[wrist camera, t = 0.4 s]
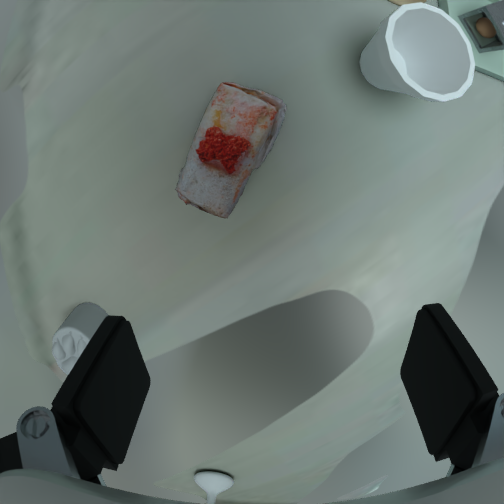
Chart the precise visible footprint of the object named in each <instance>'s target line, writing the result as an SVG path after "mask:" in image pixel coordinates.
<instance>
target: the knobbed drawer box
mask: <svg viewBox="0 0 504 504" xmlns="http://www.w3.org/2000/svg"><path fill="white" fill-rule="evenodd" d="M478 13H482V15H483V16H484V18H488V19H490V21H491V23H492V24H493V26H494V28H495V30H496V35H495V38H496V39H497V40H495V41H493V42H491V43H489V44H487V45H485V46H483V47H481V45H480V43H479V42H478V40H477V38H476V36H475V34H474V33H473V31H472V29H471V28H470V26H469V24H468V23H467V21H466V19H465V18H466V17H469V16H472V15H475V14H478ZM458 18H459V20H460V21H461V23H462V24H463V26H464V28H465V29H466V31H467V33H468V34H469V36H470V38H471V40H472V41H473V43H474V45H475V47H476V49H477V51H478V52H479V53H484V52H491V51H498V50H504V0H501V1H497V2H494V3H491V4H488V5H485V6H482V7H479V8H477V9H474V10H472V11H469V12H466V13H464V14H462V15H459V16H458Z"/></svg>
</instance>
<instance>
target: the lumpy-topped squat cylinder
mask: <svg viewBox="0 0 504 504" xmlns="http://www.w3.org/2000/svg"><path fill="white" fill-rule="evenodd" d="M106 316H109V315H108V314H107V313H106V312H105V311H104V310H103V309H102V308H101V307H100V306H98V305H96V304H94V303H90V302H86V303H82V304H79V305H78V306H77V307H76V308H75V309H74V310H73V311H72V312H71V314H70V315H69V316H68V317H67V319H66V320H65V321H64V322H63V324H62V325H61V326H60V328H59V329H58V330H57V331H56V333H55V334H54V336H53V347H52V354H53V356H54V357H55V359H56V362H57V364H58V366H59V367H60V368H61V370H63V371H64V372H65V373H66V374H67V375H69V373H70V371H71V370H72V368H73V366H74V365H75V363H76V362H77V360H78V358H79V357H80V355H81V354H82V352H83V350H84V349H85V347H86V346H87V344H88V343H89V341H90V340H91V338H92V336H93V335H94V333H95V332H96V330H97V329H98V327H99V326H100V324H101V323H102V321H103V320H104V318H105V317H106Z"/></svg>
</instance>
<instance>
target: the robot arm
mask: <svg viewBox="0 0 504 504" xmlns="http://www.w3.org/2000/svg"><path fill="white" fill-rule="evenodd" d="M400 374H401V379H402V381H403V384H404V386H405V389H406V391H407V394H408V396H409V399H410V402H411V404H412V407H413V409H414V412H415V415H416V417H417V420H418V423H419V426H420V429H421V431H422V434H423V437H424V440H425V443H426V446H427V449H428V452H429V453H430V454H431V455H434V457H435V461H440V460H443V459H446V458H450V460H451V466H450V469H449V471H448V473H447V475H446V477H445V478H442V479H439V480H435V481H432V482H429V483H425V484H421V485H418V486H414V487H411V488H407V489H403V490H399V491H395V492H390V493H386V494H382V495H377V496H371V497H366V498H360V499H354V500H347V501H341V502H332V503H323V504H504V393H503V394H501V395H500V396H499V395H498V393H497V391H498V388H497V386H496V385H495V383H494V381H493V380H492V378H491V377H490V375H489V373H488V372H487V370H486V368H485V367H484V365H483V364H482V362H481V361H480V359H479V358H478V356H477V354H476V353H475V351H474V350H473V348H472V347H471V345H470V344H469V343H468V341H467V340H466V338H465V337H464V335H463V334H462V332H461V331H460V329H459V328H458V327H457V325H456V324H455V322H454V321H453V320H452V318H451V317H450V316H449V314H448V313H447V311H446V310H445V309H444V307H443V306H442V305H441V304H440V303H435V304H427V305H423V307H422V309H421V310H419V311H418V312H417V315H416V319H415V323H414V326H413V330H412V334H411V337H410V341H409V344H408V347H407V350H406V354H405V357H404V360H403V363H402V366H401V371H400ZM149 387H150V376H149V373H148V371H147V368H146V366H145V363H144V360H143V358H142V355H141V352H140V350H139V347H138V344H137V341H136V338H135V335H134V333H133V330H132V327H131V324H130V322H129V321H126V319H125V318H124V317H123V316H106V317H105V318H104V320H103V321H102V323H101V324H100V326H99V327H98V329H97V330H96V332H95V333H94V335H93V336H92V338H91V340H90V341H89V343H88V344H87V346H86V347H85V349H84V350H83V352H82V354H81V355H80V357H79V358H78V360H77V362H76V363H75V365H74V366H73V368H72V370H71V371H70V373H69V375H68V376H67V378H66V380H65V381H64V383H63V385H62V386H61V388H60V390H59V392H58V393H57V395H56V397H55V398H54V400H53V402H52V406H53V407H52V409H51V410H49V409H48V408H45V407H40V406H37V407H33V408H31V409H28V410H26V411H25V412H24V413H23V414H22V415H21V417H20V418H19V419H18V422H17V428H16V429H17V432H15V433H13V434H10V435H8V436H5V437H3V438H1V439H0V504H199V503H189V502H182V501H174V500H168V499H162V498H156V497H151V496H146V495H141V494H136V493H132V492H127V491H123V490H119V489H114V488H110V487H107V486H106V484H105V482H104V480H103V478H102V476H101V471H102V468H107V469H111V470H115V471H117V468H118V464H122V463H123V461H124V459H125V456H126V453H127V450H128V447H129V444H130V441H131V438H132V435H133V432H134V430H135V427H136V424H137V421H138V418H139V415H140V412H141V410H142V407H143V404H144V401H145V398H146V395H147V393H148V390H149Z"/></svg>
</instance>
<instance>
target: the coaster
mask: <svg viewBox="0 0 504 504" xmlns="http://www.w3.org/2000/svg"><path fill="white" fill-rule="evenodd" d="M388 1H390V2H392V3H394V4H396V5H399V6H402V5H404V4H411V3H419V2H422V3H424V2H426V0H388Z"/></svg>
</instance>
